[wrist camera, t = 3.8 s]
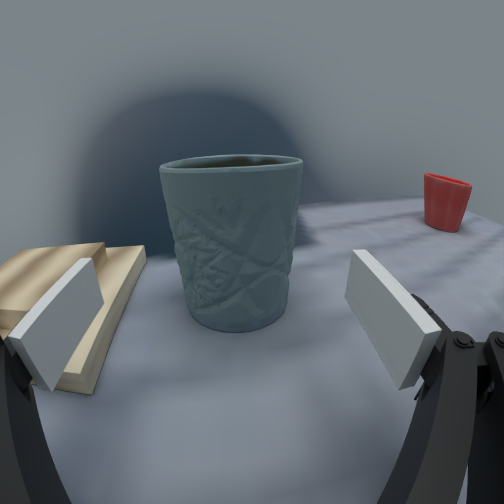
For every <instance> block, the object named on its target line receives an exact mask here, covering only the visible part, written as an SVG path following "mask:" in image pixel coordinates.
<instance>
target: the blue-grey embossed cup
mask: <svg viewBox="0 0 504 504" xmlns="http://www.w3.org/2000/svg"><path fill="white" fill-rule="evenodd" d="M302 170H303V161H302V160H300V159H297V158H292V157H284V156H273V155H272V156H271V155H218V156H206V157H197V158H190V159H184V160H179V161H174V162H170V163H166V164H163V165H161V166H160V169H159V171H160V177H161V183H162V188H163V193H164V198H165V201H166V207H167V213H168V219H169V224H170V226H171V230H172V233H173V239H174V240H175V253H176V255H177V263H178V265H179V267H180V273H181V276H182V281H183V286H184V290H185V296H186V301H187V305H188V308H189V311H190V312H191V314H192V316H193V317H194V318H195V319H196V320H197V321H198V322H199V323H201V324H202V325H204V326H206V327H208V328H211V329H214V330H218V331H223V332H248V331H253V330H257V329H260V328H263V327H265V326H267V325H270V324H272V323H274V322H275V321H276V320H277V319H278V318H279V317H280V316H281V314H282V313H284V309H285V306H286V303H287V296H288V289H289V280H288V275H289V273H290V271H291V263H292V260H293V255H292V251H293V249H294V242H295V228H296V216H297V211H298V201H299V195H300V186H301V178H302Z"/></svg>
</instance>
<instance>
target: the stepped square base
mask: <svg viewBox="0 0 504 504" xmlns="http://www.w3.org/2000/svg"><path fill="white" fill-rule="evenodd" d="M80 258H92V259H93V263H94V267H95V271H96V275H97V279H98V283H99V286H100V290H101V293H102V297H103V300H104V305H103V306H102V308H101V309H100V311H99V312H98V314H97V316H96V317H95V319H94V320H93V322H92V323H91V325H90V327H89V328H88V330H87V332H86V333H85V335H84V336H83V338H82V340H81V341H80V343H79V345H78V346H77V348H76V350H75V352H74V353H73V355H72V357H71V359H70V360H69V362H68V364H67V366H66V367H65V369H64V371H63V373H62V375H61V377H60V378H59V380H58V382H57V384H56V386H55V388H54V389H58V390H64V391H70V392H76V393H83V394H91V395H92V394H93V391H94V388H95V385H96V382H97V379H98V376H99V373H100V371H101V368H102V365H103V362H104V359H105V357H106V354H107V351H108V349H109V346H110V343H111V341H112V338H113V336H114V333H115V331H116V328H117V326H118V323H119V321H120V319H121V316H122V314H123V311H124V309H125V307H126V304H127V302H128V300H129V298H130V295H131V293H132V291H133V289H134V286H135V284H136V282H137V280H138V278H139V276H140V273H141V271H142V269H143V267H144V265H145V263H146V256H145V250H144V246H129V247H116V248H105V244H104V242H102V243H91V244H79V245H68V246H57V247H47V248H37V249H28V250H20V251H19V252H18V253H16V254H15V255H14V256H13V257H11V258H10V259H9V260H8V261H6V262H5V263H4V264H3V265H2V266H1V267H0V335H1V337H2V339H3V340H4V339H5V338H6V336H7V335H8V334H9V333H10V332H11V330H12V329H13V328H14V327H15V326H16V324H17V323H19V321H20V320H21V319H22V317H24V315H25V314H26V313H27V312H28V311H29V309H31V308H32V307H33V306H34V305H35V304H36V303H37V302H38V301H39V300H40V298H41V297H42V296H43V295H44V294H45V293H46V292H47V291H48V290H49V289H50V288H51V287H52V286H53V285H54V284H55V283H56V282H57V281H58V280H59V279H60V278H61V277H62V276H63V275H64V274H65V273H66V272H67V271H68V270H69V269H70V268H71V267H72V266H73V265H74V264H75V263H76V262H77V261H78V260H79V259H80ZM30 384H34V385H37V384H36V383H35V381H34V380H33V379H32V380H31V382H30Z"/></svg>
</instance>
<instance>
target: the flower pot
mask: <svg viewBox="0 0 504 504" xmlns="http://www.w3.org/2000/svg"><path fill="white" fill-rule="evenodd" d="M471 190H472V185H470V184H468V183H465V182H462V181H459V180H456V179H452V178H448V177H444V176H440V175H435V174H429V173H425V174H424V208H425V222H426V224H428V225H429V226H431V227H434V228H438V229H439V230H442V231H447V232H456V231H458V229H459V226H460V224H461V221H462V218H463V216H464V213H465V210H466V206H467V203H468V200H469V197H470V194H471Z"/></svg>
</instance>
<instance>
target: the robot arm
mask: <svg viewBox="0 0 504 504" xmlns="http://www.w3.org/2000/svg"><path fill="white" fill-rule="evenodd" d="M345 299H346V301H347V302H348V304H349V305H350V307H351V309H352V310H353V312H354V314H355V315H356V317H357V319H358V320H359V322H360V323H361V325H362V327H363V329H364V330H365V332H366V334H367V335H368V337H369V339H370V340H371V342H372V344H373V346H374V347H375V349H376V351H377V352H378V354H379V356H380V358H381V360H382V361H383V363H384V365H385V367H386V368H387V370H388V372H389V374H390V376H391V377H392V379H393V381H394V383H395V385H396V387H397V389H398V390H401V389H404V388H408V387H411V386H414V385H415V383H416V382H417V380H418V378H419V376H420V375H421V376H422V378H423V379H424V383H423V385H422V386H421V388H420V390H419V391H418V393H417V395H416V396H415V398H414V400H417V398H418V401H417V404H416V408H415V411H414V415H413V418H412V421H411V424H410V427H409V430H408V433H407V436H406V439H405V441H404V444H403V447H402V449H401V452H400V454H399V457H398V459H397V462H396V464H395V467H394V469H393V471H392V473H391V476H390V478H389V480H388V482H387V484H386V486H385V488H384V490H383V492H382V494H381V496H380V498H379V500H378V502H377V504H457V501H458V498H459V495H460V491H461V488H462V484H463V480H464V477H465V472H466V468H467V464H468V485H467V501H466V504H504V333H502V332H497V331H496V332H492V333H490V335H489V337H488V339H487V341H486V342H475V341H474V340H473V338H472V337H470V336H469V335H468V334H466V333H463V332H459V331H454V332H452V331H451V330H450V329H449V328H448V327H447V326H446V325H445V323H444V322H443V321H442V320H441V319H440V318H439V317H438V316H437V315H436V314H434V311H433V310H432V309H431V308H429V306H428V305H427V304H426V303H425V302H424V301H423V300H422V299H421V298H419V297H417V296H416V295H414V294H409V293H408V292H407V291H406V290H405V289H404V287H403V286H402V285H401V284H400V283H399V282H398V281H397V280H396V279H395V278H394V277H393V276H392V275H391V274H390V273H389V272H388V271H387V270H386V269H385V268H384V267H383V266H382V265H381V264H380V263H379V262H378V261H377V260H376V259H375V258H374V257H373V256H372V255H371V254H370V253H369V252H368V251H367V250H352V255H351V262H350V268H349V274H348V280H347V286H346V292H345ZM103 305H104V300H103V297H102V293H101V290H100V286H99V283H98V279H97V275H96V271H95V267H94V263H93V259H92V258H80V259H79V260H78V261H77V262H76V263H75V264H74V265H73V266H72V267H71V268H70V269H69V270H68V271H67V272H66V273H65V274H64V275H63V276H62V277H61V278H60V279H59V280H58V281H57V282H56V283H55V284H54V285H53V286H52V287H51V288H50V289H49V290H48V291H47V292H46V293H45V294H44V295H43V296H42V297H41V298H40V300H39V301H38V302H37V303H36V304H35V305H34V306H33V307H32V308H31V309H29V311H28V312H27V313H26V314H25V315H24V317H22V319H21V320H20V321H19V323H17V324H16V326H15V327H14V328H13V329H12V330H11V332H10V333H9V334H8V335H7V336H6V338H5V339H4V340H3V339H2V337H1V335H0V504H71V502H70V500H69V498H68V496H67V494H66V491H65V489H64V487H63V485H62V482H61V480H60V478H59V475H58V473H57V470H56V468H55V465H54V463H53V460H52V457H51V454H50V451H49V448H48V445H47V442H46V439H45V436H44V432H43V429H42V425H41V422H40V418H39V414H38V410H37V405H36V401H35V396H34V391H33V388H32V386H31V385H30V382H31V380H32V379H33V380H34V381H35V383H36V384H37V386H38V387H39V389H42V390H46V391H49V392H53V390H54V388H55V386H56V384H57V382H58V380H59V378H60V377H61V375H62V373H63V371H64V369H65V367H66V366H67V364H68V362H69V360H70V359H71V357H72V355H73V353H74V352H75V350H76V348H77V346H78V345H79V343H80V341H81V340H82V338H83V336H84V335H85V333H86V332H87V330H88V328H89V327H90V325H91V323H92V322H93V320H94V319H95V317H96V316H97V314H98V312H99V311H100V309H101V308H102V306H103ZM490 385H492V391H491V388H490Z"/></svg>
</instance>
